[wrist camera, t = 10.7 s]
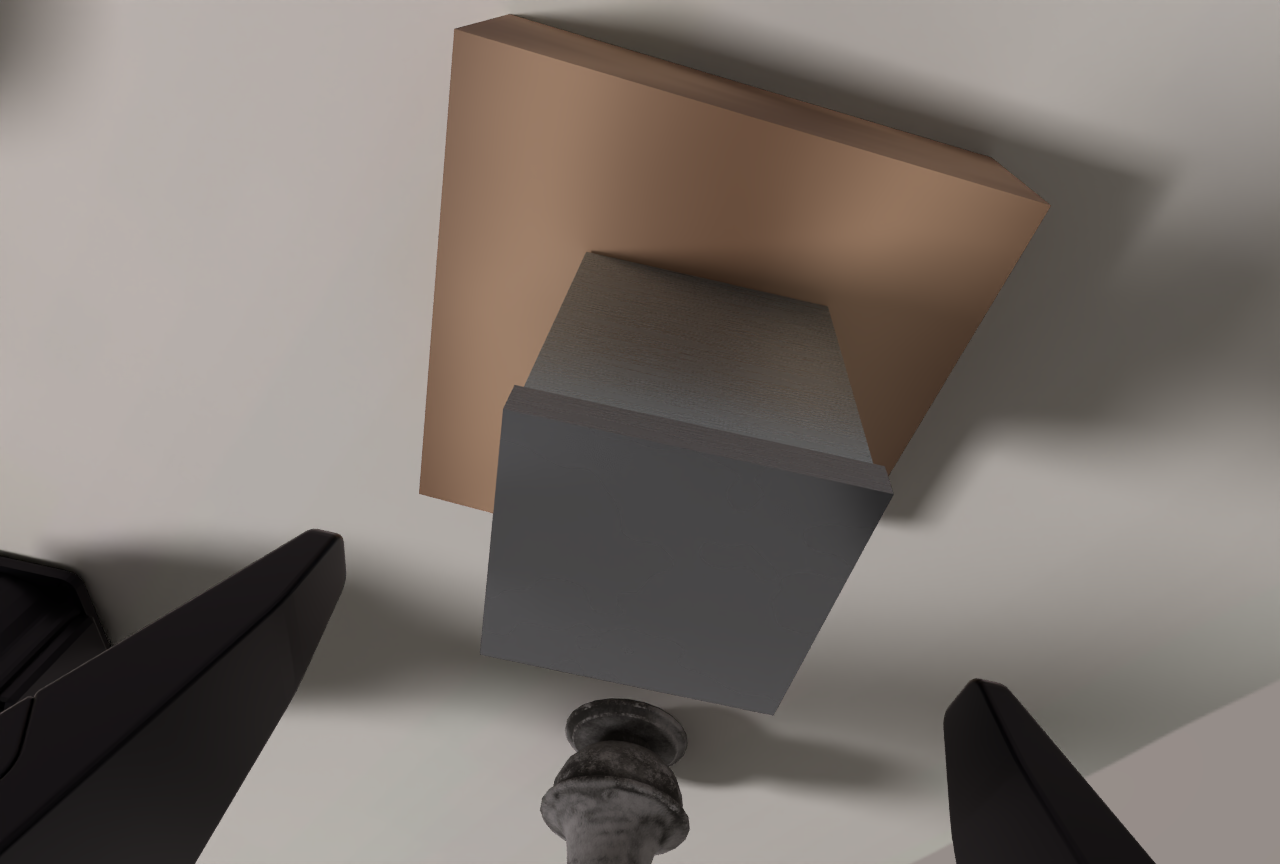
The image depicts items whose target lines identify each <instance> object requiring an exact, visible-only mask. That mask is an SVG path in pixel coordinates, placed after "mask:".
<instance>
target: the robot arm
mask: <svg viewBox="0 0 1280 864" xmlns="http://www.w3.org/2000/svg"><path fill="white" fill-rule="evenodd" d="M345 580H346V564H345V551H344V541H343V538H342V536H341V535H339V534H337V533H333V532H329V531H324V530H320V529H311V530H308V531H306V532H304V533H302V534H300V535H299V536H297V537H295V538H294V539H292V540H290V541H289V542H287V543H285V544H284V545H282V546H280V547H279V548H277V549H275V550H274V551H272V552H270V553H269V554H267V555H265V556H264V557H262V558H260V559H259V560H257V561H255V562H253V563H252V564H250V565H248V566H247V567H245V568H243V569H242V570H240V571H238V572H237V573H235V574H233V575H232V576H230V577H228V578H227V579H225V580H223V581H222V582H220V583H218V584H217V585H215V586H213V587H212V588H210V589H208V590H206V591H205V592H203V593H201V594H200V595H198V596H196V597H195V598H193V599H191V600H190V601H188V602H186V603H185V604H183V605H181V606H180V607H178V608H176V609H175V610H173V611H171V612H170V613H168V614H166V615H165V616H163V617H161V618H159V619H158V620H156V621H154V622H153V623H151V624H149V625H148V626H146V627H144V628H143V629H141V630H139V631H138V632H136V633H134V634H133V635H131V636H129V637H128V638H126V639H124V640H123V641H121V642H119V643H118V644H116V645H114V646H112V647H111V648H110V646H109V643H108V641H107V638H106V636H105V633H104V631H103V629H102V626H101V624H100V621H99V619H98V616H97V614H96V612H95V609H94V607H93V604H92V602H91V599H90V597H89V594H88V592H87V590H86V587H85V585H84V582H83V581H82V579H81V578H80V577H78V576H77V575H75V574H74V573H71V572H68V571H64V570H60V569H55V568H51V567H46V566H42V565H37V564H33V563H28V562H24V561H19V560H15V559H10V558H6V557H1V556H0V864H195V863H196V861H197V859H198V858H199V856H200V854H201V853H202V851H203V849H204V848H205V846H206V844H207V842H208V841H209V839H210V837H211V836H212V834H213V832H214V831H215V829H216V827H217V826H218V824H219V822H220V820H221V819H222V817H223V815H224V814H225V812H226V810H227V809H228V807H229V805H230V804H231V802H232V800H233V799H234V797H235V795H236V793H237V792H238V790H239V788H240V787H241V785H242V783H243V782H244V780H245V778H246V777H247V775H248V773H249V771H250V770H251V768H252V766H253V765H254V763H255V761H256V760H257V758H258V756H259V755H260V753H261V751H262V749H263V748H264V746H265V744H266V743H267V741H268V739H269V738H270V736H271V734H272V733H273V731H274V729H275V727H276V726H277V724H278V722H279V721H280V719H281V717H282V716H283V714H284V712H285V711H286V709H287V707H288V705H289V704H290V702H291V700H292V698H293V696H294V695H295V693H296V691H297V689H298V687H299V685H300V683H301V681H302V679H303V677H304V674H305V672H306V670H307V668H308V666H309V663H310V661H311V659H312V657H313V655H314V652H315V650H316V648H317V646H318V644H319V641H320V639H321V637H322V635H323V632H324V630H325V628H326V626H327V624H328V621H329V619H330V617H331V615H332V613H333V610H334V608H335V606H336V604H337V601H338V599H339V597H340V595H341V593H342V590H343V587H344V584H345ZM943 725H944V741H945V755H946V769H947V783H948V797H949V811H950V822H951V832H952V840H953V846H954V853H955V858H956V864H1156V863H1155V862H1154V861H1153V860H1152V859H1151V858H1150V856H1149V855H1148V854H1147V853H1146V851H1145V850H1144V849H1143V848H1142V847H1141V846H1140V844H1139V843H1138V842H1137V841H1136V840H1135V838H1134V837H1133V836H1132V835H1131V834H1130V833H1129V831H1128V830H1127V829H1126V828H1125V827H1124V825H1123V824H1122V823H1121V822H1120V821H1119V819H1118V818H1117V817H1116V816H1115V815H1114V813H1113V812H1112V811H1111V810H1110V809H1109V807H1108V806H1107V805H1106V804H1105V803H1104V802H1103V800H1102V799H1101V798H1100V797H1099V796H1098V795H1097V793H1096V792H1095V791H1094V790H1093V788H1092V787H1091V786H1090V785H1089V784H1088V783H1087V781H1086V780H1085V779H1084V778H1083V777H1082V775H1081V774H1080V773H1079V772H1078V771H1077V770H1076V768H1075V767H1074V766H1073V765H1072V764H1071V762H1070V761H1069V760H1068V759H1067V758H1066V756H1065V755H1064V754H1063V753H1062V752H1061V751H1060V749H1059V748H1058V747H1057V746H1056V745H1055V743H1054V742H1053V741H1052V740H1051V739H1050V737H1049V736H1048V735H1047V734H1046V733H1045V732H1044V730H1043V729H1042V728H1041V727H1040V726H1039V724H1038V723H1037V722H1036V721H1035V720H1034V718H1033V717H1032V716H1031V715H1030V714H1029V713H1028V711H1027V710H1026V709H1025V708H1024V707H1023V705H1022V704H1021V703H1020V702H1019V701H1018V699H1017V698H1016V697H1015V696H1014V695H1013V694H1012V692H1011V691H1010V690H1009V689H1008V688H1007V687H1006V686H1004V685H1002V684H1000V683H997V682H992V681H988V680H983V679H978V678H975V679H973V680H971V681H969V682H968V683H967V685H966V686H965V687H964V688H963V690H962V691H961V692H960V693H959V695H958V696H957V697H956V698H955V700H954V701H953V702H952V703H951V705H950V706H949V707H948V709H947V711H946V713H945V716H944V724H943Z"/></svg>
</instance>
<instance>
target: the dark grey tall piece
mask: <svg viewBox="0 0 1280 864" xmlns="http://www.w3.org/2000/svg"><path fill="white" fill-rule="evenodd" d="M565 732H566V736H567V740H568V741H569V743H570V744H571V746H572V747H573V748H574V750H575V751H576V752H577V753H575V754H574V755H572V756H571V757H570V758H569V759H568V760H567V762H566V763H565V765H564V766H563V768H562V769H561V770H560V772H559V773H558V775H557V776H556V778H555V781H554V786H553V787H552V788H550V789H549V790H548V791H547V793H546V794H545V795H544V796H543V798H542V802H541V808H540V811H541V814H542V817H543V820H544V822H545V823H546V824H547V825H548V827H549V828H550V829H551V830H552V831H553V832H554V833H555V834H557V835H558V836H559V837H561V838H562V839H563V840H565V841H566V843H567V864H651V863H652V860H653V857H654V856H655V855H659V854H664V853H666V852H668V851H670V850H673V849H675V848H676V847H677V846H679V845H680V844H681V843H682V842H683V841H684V840H685V839H686V837H687V835H688V832H689V829H690V827H689V818H688V816H687V814H686V813H685V811H684V809H683V808H682V807H683V803H682V795H681V792H680V789H679V786H678V782H677V779H676V777H675V775H674V773H673V772H672V770H671V769H670V768H669V766H671V765H673V764H674V763H676V762H677V761H678V760H679V759H680V758H681V757H682V756H683V755H684V753H685V750H686V747H687V738H686V733H685V731H684V730H683V728H682V726H681V725H680V724H679V723H678V722H677V721H676V720H675V719H674V718H673V717H672V716H671V715H669V714H667V713H666V712H664V711H662V710H661V709H659V708H656V707H654V706H651V705H648V704H646V703H642V702H637V701H632V700H627V699H605V700H597V701H593V702H590V703H587V704H585V705H582V706H581V707H579V708H578V709H576V710H575V711H573V712H572V714H571V715H570V717H569V718H568V719H567V724H566V729H565Z"/></svg>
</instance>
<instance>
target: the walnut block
mask: <svg viewBox="0 0 1280 864" xmlns="http://www.w3.org/2000/svg"><path fill="white" fill-rule="evenodd" d="M1050 206H1051V205H1050V204H1049V203H1047V202H1046V201H1045V200H1044V199H1042V198H1041V197H1040V196H1039V195H1037V194H1036V193H1035V192H1034V191H1032V190H1031V189H1030V188H1029V187H1028V186H1026V185H1025V184H1024V183H1023V182H1021V181H1020V180H1019V179H1018V178H1016V177H1015V176H1014V175H1013V174H1011V173H1010V172H1009V171H1008V170H1006V169H1005V168H1004V167H1003V166H1001V165H1000V164H999V163H998V162H996V161H995V160H994V159H993V158H991V157H988V156H984V155H981V154H978V153H974V152H971V151H968V150H964V149H961V148H958V147H954V146H951V145H948V144H944V143H941V142H937V141H934V140H931V139H927V138H924V137H921V136H917V135H914V134H911V133H907V132H904V131H900V130H897V129H894V128H890V127H887V126H884V125H880V124H877V123H874V122H870V121H867V120H864V119H860V118H857V117H853V116H850V115H847V114H843V113H840V112H837V111H833V110H830V109H827V108H823V107H820V106H817V105H813V104H810V103H806V102H803V101H800V100H796V99H793V98H790V97H786V96H783V95H780V94H776V93H773V92H770V91H766V90H763V89H759V88H756V87H753V86H749V85H746V84H743V83H739V82H736V81H733V80H729V79H726V78H722V77H719V76H716V75H712V74H709V73H706V72H702V71H699V70H696V69H692V68H689V67H686V66H682V65H679V64H675V63H672V62H669V61H665V60H662V59H659V58H655V57H652V56H649V55H645V54H642V53H639V52H635V51H632V50H628V49H625V48H622V47H618V46H615V45H612V44H608V43H605V42H602V41H598V40H595V39H591V38H588V37H585V36H581V35H578V34H575V33H571V32H568V31H565V30H561V29H558V28H555V27H551V26H548V25H544V24H541V23H538V22H534V21H531V20H528V19H524V18H521V17H518V16H514V15H511V14H508V15H505V16H501V17H497V18H493V19H490V20H486V21H482V22H478V23H475V24H471V25H467V26H463V27H460V28H456V29H454V41H453V54H452V67H451V80H450V94H449V107H448V120H447V133H446V146H445V159H444V173H443V186H442V199H441V212H440V225H439V239H438V252H437V265H436V278H435V291H434V305H433V318H432V331H431V344H430V357H429V370H428V384H427V397H426V410H425V423H424V436H423V450H422V463H421V476H420V489H419V494H422V495H426V496H430V497H433V498H437V499H441V500H445V501H449V502H452V503H456V504H460V505H464V506H468V507H471V508H475V509H479V510H483V511H486V512H490V513H493V510H494V499H495V489H496V478H497V467H498V457H499V446H500V435H501V425H502V414H503V408H504V406H505V404H506V401H507V399H508V397H509V395H510V393H511V391H512V389H513V387H514V385H518V386H522V387H524V385H525V383H526V381H527V379H528V377H529V374H530V372H531V370H532V368H533V366H534V364H535V361H536V359H537V357H538V355H539V353H540V351H541V348H542V346H543V344H544V342H545V340H546V338H547V335H548V333H549V331H550V329H551V327H552V325H553V322H554V320H555V318H556V316H557V314H558V312H559V309H560V307H561V305H562V303H563V301H564V299H565V296H566V294H567V292H568V290H569V288H570V286H571V283H572V281H573V279H574V277H575V275H576V273H577V270H578V268H579V266H580V264H581V262H582V260H583V257H584V255H585V253H586V252H590V253H594V254H599V255H603V256H608V257H612V258H616V259H621V260H625V261H630V262H634V263H639V264H643V265H647V266H652V267H656V268H661V269H665V270H670V271H674V272H678V273H683V274H687V275H692V276H696V277H700V278H705V279H709V280H714V281H718V282H723V283H727V284H731V285H736V286H740V287H745V288H749V289H754V290H758V291H762V292H767V293H771V294H776V295H780V296H784V297H789V298H793V299H798V300H802V301H807V302H811V303H815V304H820V305H824V306H828V309H829V312H830V316H831V319H832V322H833V326H834V329H835V333H836V336H837V340H838V343H839V347H840V350H841V354H842V357H843V361H844V364H845V368H846V371H847V374H848V378H849V381H850V385H851V388H852V392H853V395H854V399H855V402H856V406H857V409H858V413H859V416H860V420H861V423H862V426H863V430H864V433H865V437H866V440H867V444H868V447H869V451H870V454H871V458H872V461H873V464H877V465H882V466H885V468H886V471H887V474H888V476H889V474H890V473H891V471H892V469H893V468H894V466H895V464H896V463H897V461H898V459H899V458H900V456H901V454H902V453H903V451H904V449H905V448H906V446H907V444H908V443H909V441H910V439H911V438H912V436H913V434H914V433H915V431H916V429H917V428H918V426H919V424H920V423H921V421H922V419H923V418H924V416H925V414H926V413H927V411H928V409H929V408H930V406H931V404H932V403H933V401H934V399H935V398H936V396H937V394H938V393H939V391H940V389H941V388H942V386H943V384H944V383H945V381H946V379H947V378H948V376H949V374H950V373H951V371H952V369H953V368H954V366H955V364H956V363H957V361H958V359H959V358H960V356H961V354H962V353H963V351H964V349H965V348H966V346H967V344H968V343H969V341H970V339H971V338H972V336H973V335H974V333H975V331H976V330H977V328H978V326H979V325H980V323H981V321H982V320H983V318H984V316H985V315H986V313H987V311H988V310H989V308H990V306H991V305H992V303H993V301H994V300H995V298H996V296H997V295H998V293H999V291H1000V290H1001V288H1002V286H1003V285H1004V283H1005V281H1006V280H1007V278H1008V276H1009V275H1010V273H1011V271H1012V270H1013V268H1014V266H1015V265H1016V263H1017V261H1018V260H1019V258H1020V256H1021V255H1022V253H1023V251H1024V250H1025V248H1026V246H1027V245H1028V243H1029V241H1030V240H1031V238H1032V236H1033V235H1034V233H1035V231H1036V230H1037V228H1038V226H1039V225H1040V223H1041V221H1042V220H1043V218H1044V216H1045V215H1046V213H1047V211H1048V210H1049V208H1050Z"/></svg>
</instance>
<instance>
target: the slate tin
mask: <svg viewBox="0 0 1280 864" xmlns="http://www.w3.org/2000/svg"><path fill="white" fill-rule="evenodd" d="M892 496H893V491H892V487H891V484H890V481H889V478H888V474H887V471H886V468H885V466H882V465H877V464H873V461H872V458H871V454H870V451H869V447H868V444H867V440H866V437H865V433H864V430H863V426H862V423H861V420H860V416H859V413H858V409H857V406H856V402H855V399H854V395H853V392H852V388H851V385H850V381H849V378H848V374H847V371H846V368H845V364H844V361H843V357H842V354H841V350H840V347H839V343H838V340H837V336H836V333H835V329H834V326H833V322H832V319H831V316H830V312H829V309H828V306H824V305H820V304H815V303H811V302H807V301H802V300H798V299H793V298H789V297H784V296H780V295H776V294H771V293H767V292H762V291H758V290H754V289H749V288H745V287H740V286H736V285H731V284H727V283H723V282H718V281H714V280H709V279H705V278H700V277H696V276H692V275H687V274H683V273H678V272H674V271H670V270H665V269H661V268H656V267H652V266H647V265H643V264H639V263H634V262H630V261H625V260H621V259H616V258H612V257H608V256H603V255H599V254H594V253H590V252H586V253H585V255H584V257H583V260H582V262H581V264H580V266H579V268H578V270H577V273H576V275H575V277H574V279H573V281H572V283H571V286H570V288H569V290H568V292H567V294H566V296H565V299H564V301H563V303H562V305H561V307H560V309H559V312H558V314H557V316H556V318H555V320H554V322H553V325H552V327H551V329H550V331H549V333H548V335H547V338H546V340H545V342H544V344H543V346H542V348H541V351H540V353H539V355H538V357H537V359H536V361H535V364H534V366H533V368H532V370H531V372H530V374H529V377H528V379H527V381H526V383H525V385H524V387H522V386H518V385H514V387H513V389H512V391H511V393H510V395H509V397H508V399H507V401H506V404H505V406H504V408H503V414H502V425H501V435H500V446H499V457H498V467H497V478H496V489H495V499H494V510H493V521H492V531H491V542H490V553H489V563H488V574H487V585H486V596H485V606H484V617H483V628H482V638H481V649H480V655H485V656H490V657H495V658H499V659H504V660H509V661H514V662H519V663H523V664H528V665H533V666H538V667H543V668H547V669H552V670H557V671H562V672H567V673H571V674H576V675H581V676H586V677H591V678H596V679H600V680H605V681H610V682H615V683H620V684H624V685H629V686H634V687H639V688H644V689H648V690H653V691H658V692H663V693H668V694H672V695H677V696H682V697H687V698H692V699H696V700H701V701H706V702H711V703H716V704H720V705H725V706H730V707H735V708H740V709H744V710H749V711H754V712H759V713H764V714H768V715H774V713H775V712H776V710H777V708H778V706H779V704H780V702H781V700H782V699H783V697H784V695H785V693H786V691H787V689H788V688H789V686H790V684H791V682H792V680H793V678H794V677H795V675H796V673H797V671H798V669H799V667H800V666H801V664H802V662H803V660H804V658H805V656H806V654H807V653H808V651H809V649H810V647H811V645H812V643H813V642H814V640H815V638H816V636H817V634H818V632H819V631H820V629H821V627H822V625H823V623H824V621H825V620H826V618H827V616H828V614H829V612H830V610H831V608H832V607H833V605H834V603H835V601H836V599H837V597H838V596H839V594H840V592H841V590H842V588H843V586H844V585H845V583H846V581H847V579H848V577H849V575H850V574H851V572H852V570H853V568H854V566H855V564H856V562H857V561H858V559H859V557H860V555H861V553H862V551H863V550H864V548H865V546H866V544H867V542H868V540H869V539H870V537H871V535H872V533H873V531H874V529H875V528H876V526H877V524H878V522H879V520H880V518H881V516H882V515H883V513H884V511H885V509H886V507H887V505H888V504H889V502H890V500H891V498H892Z"/></svg>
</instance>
